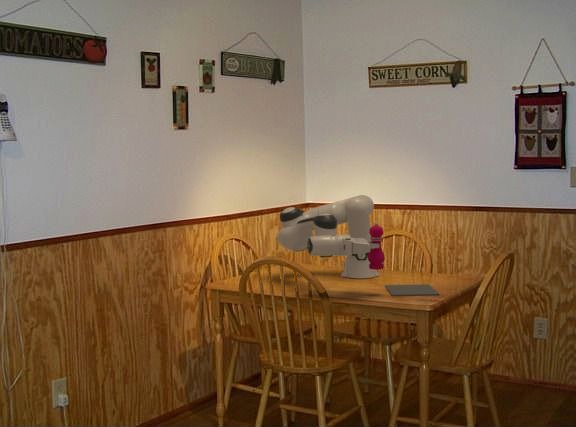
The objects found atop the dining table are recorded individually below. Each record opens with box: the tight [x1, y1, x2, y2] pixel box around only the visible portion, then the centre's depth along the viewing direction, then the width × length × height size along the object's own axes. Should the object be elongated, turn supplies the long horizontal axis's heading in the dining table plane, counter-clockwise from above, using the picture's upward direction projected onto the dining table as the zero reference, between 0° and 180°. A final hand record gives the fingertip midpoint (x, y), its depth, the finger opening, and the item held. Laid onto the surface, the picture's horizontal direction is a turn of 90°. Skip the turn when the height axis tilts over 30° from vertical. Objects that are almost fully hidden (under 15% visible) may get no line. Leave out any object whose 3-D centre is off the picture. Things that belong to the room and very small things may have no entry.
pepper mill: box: [368, 221, 386, 271], centre depth 335 cm, size 7×7×20 cm
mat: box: [384, 283, 440, 297], centre depth 343 cm, size 22×20×1 cm
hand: (378, 244), depth 335 cm, fingers closed on pepper mill, 4 cm apart
